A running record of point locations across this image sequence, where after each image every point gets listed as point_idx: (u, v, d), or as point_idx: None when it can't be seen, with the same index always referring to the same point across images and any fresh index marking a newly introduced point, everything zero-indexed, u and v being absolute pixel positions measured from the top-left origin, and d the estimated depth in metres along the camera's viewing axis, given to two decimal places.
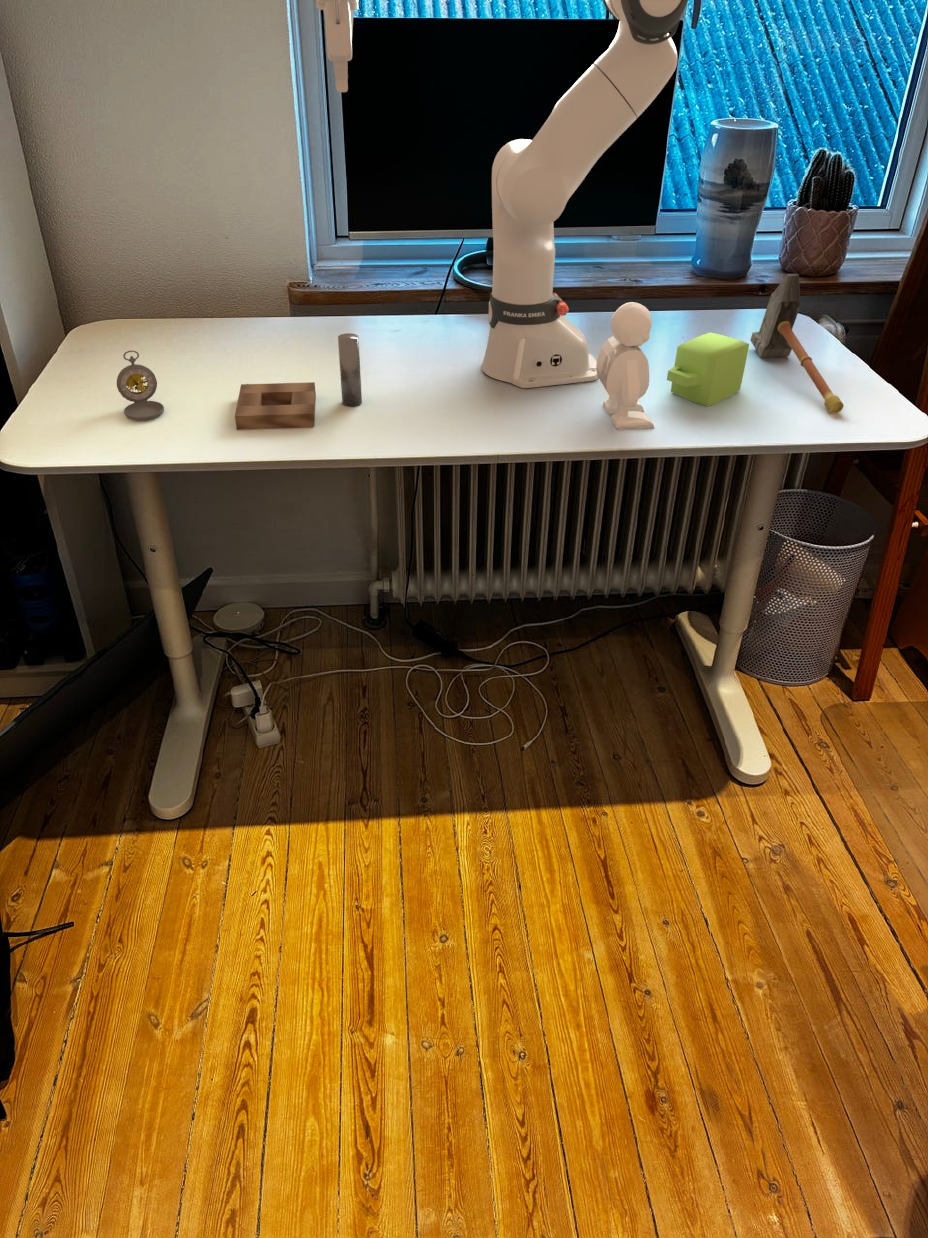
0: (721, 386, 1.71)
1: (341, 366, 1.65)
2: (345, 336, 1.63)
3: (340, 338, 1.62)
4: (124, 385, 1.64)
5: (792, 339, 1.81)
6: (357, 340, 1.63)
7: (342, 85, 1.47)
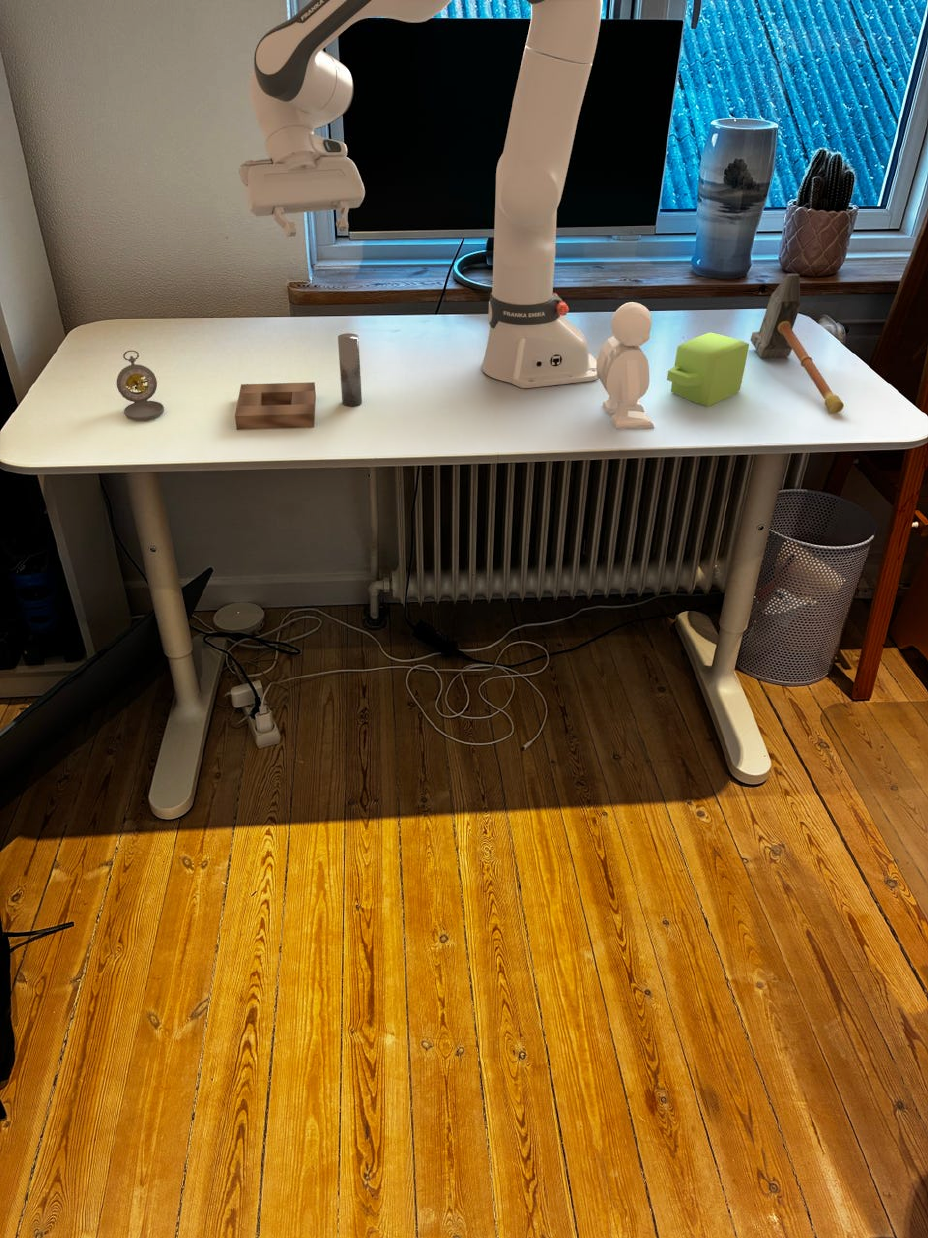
0: (721, 386, 1.71)
1: (341, 366, 1.65)
2: (345, 336, 1.63)
3: (340, 338, 1.62)
4: (124, 385, 1.64)
5: (792, 339, 1.81)
6: (357, 340, 1.63)
7: (286, 229, 1.61)
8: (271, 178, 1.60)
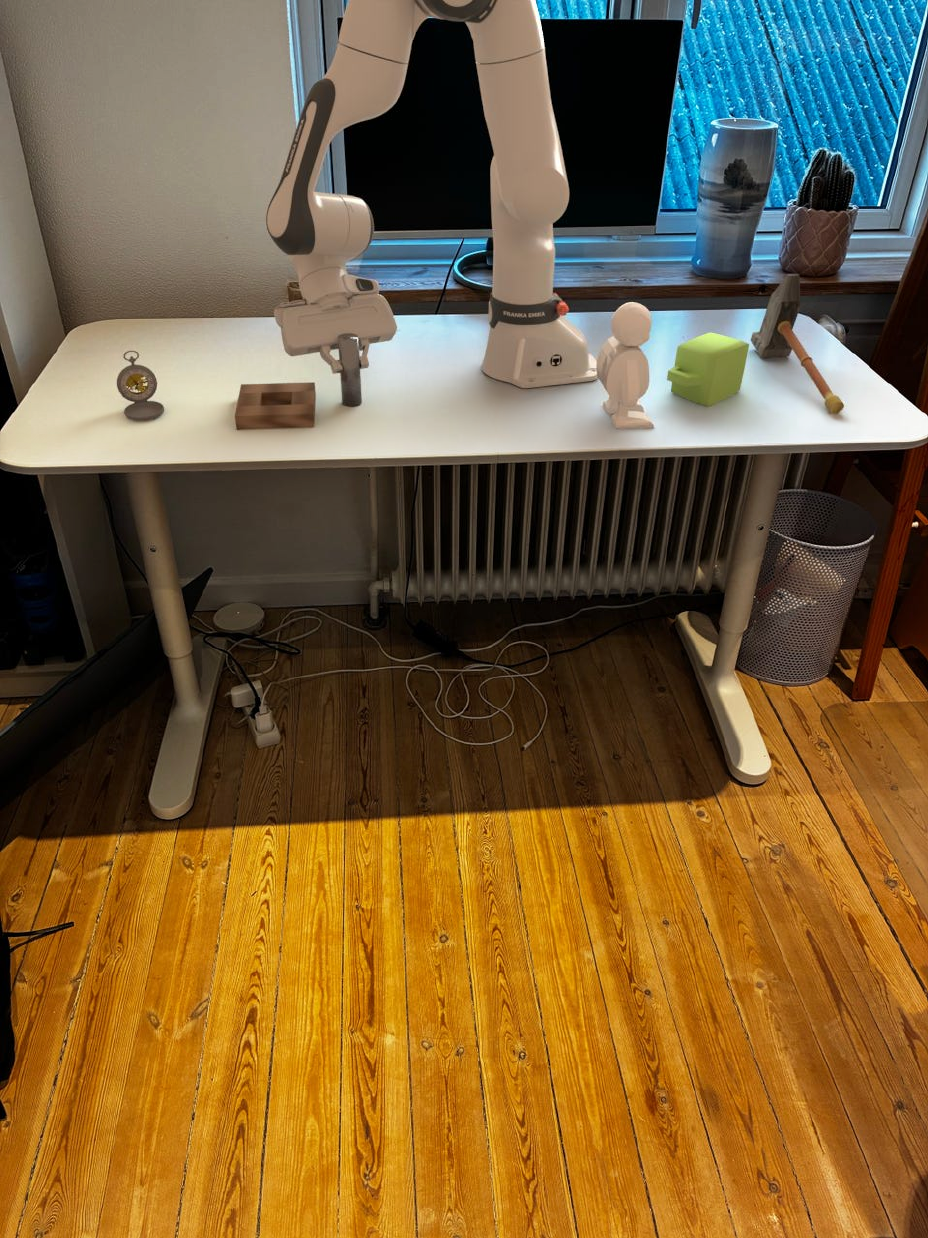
0: (721, 386, 1.71)
1: None
2: (345, 336, 1.63)
3: (340, 338, 1.62)
4: (124, 385, 1.64)
5: (792, 339, 1.81)
6: (357, 340, 1.63)
7: (332, 367, 1.65)
8: (305, 320, 1.63)
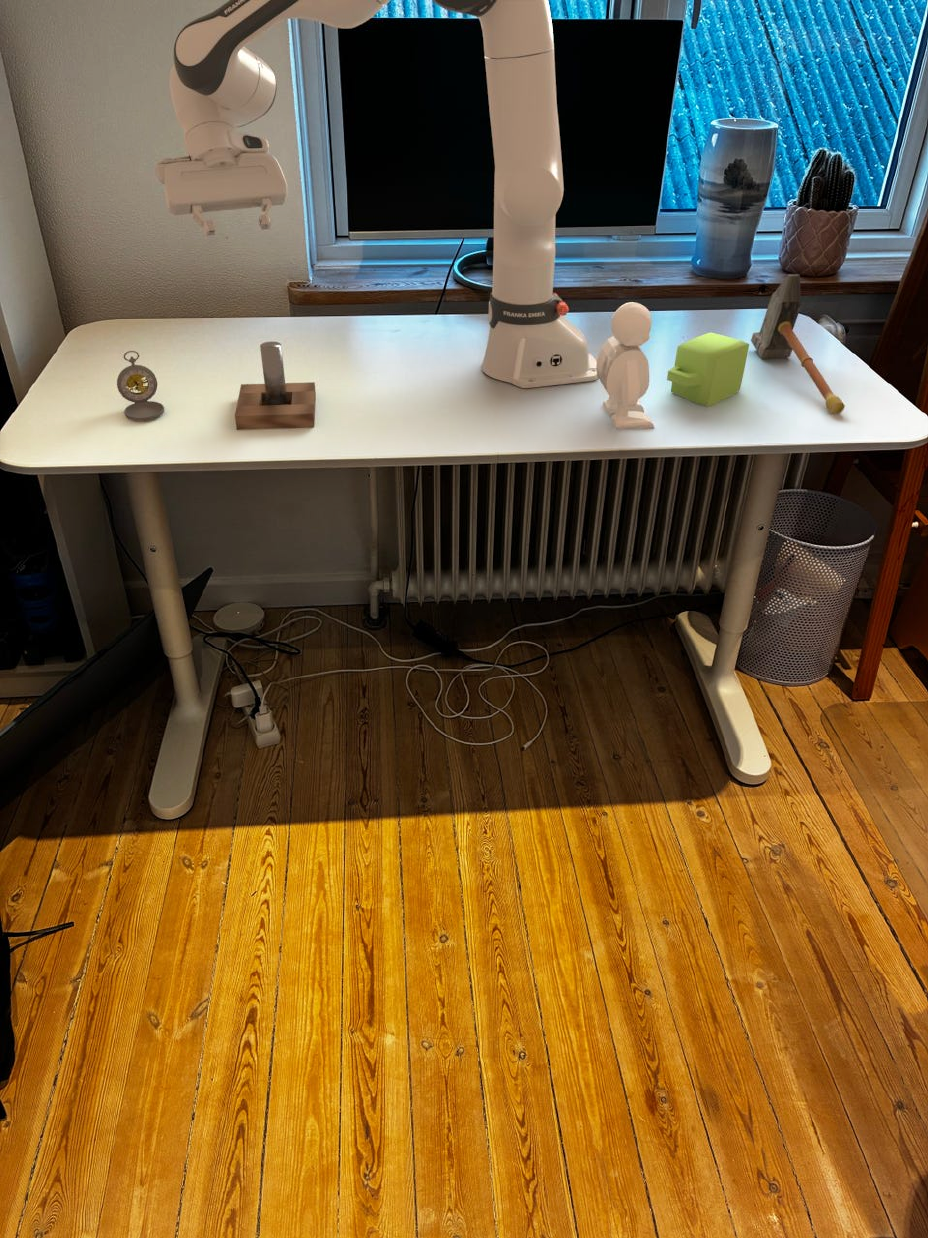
0: (721, 386, 1.71)
1: (264, 375, 1.61)
2: (267, 345, 1.59)
3: (262, 346, 1.59)
4: (124, 385, 1.64)
5: (792, 339, 1.81)
6: (280, 348, 1.59)
7: (204, 228, 1.57)
8: (188, 176, 1.56)
